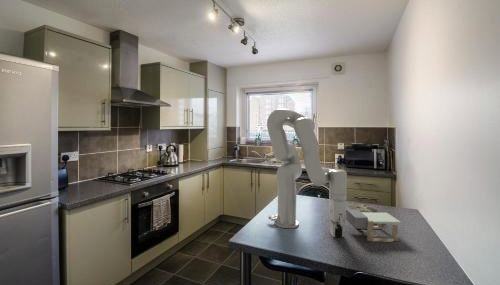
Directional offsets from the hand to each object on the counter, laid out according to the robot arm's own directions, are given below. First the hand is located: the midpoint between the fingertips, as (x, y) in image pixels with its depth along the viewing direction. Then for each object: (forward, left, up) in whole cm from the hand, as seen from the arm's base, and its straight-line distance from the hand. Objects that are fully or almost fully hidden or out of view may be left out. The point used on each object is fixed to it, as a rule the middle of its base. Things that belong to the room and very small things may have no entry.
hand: (336, 233), depth 119 cm
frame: (+18, +1, -1) cm, 18 cm away
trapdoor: (+17, +1, +4) cm, 17 cm away
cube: (0, 0, -1) cm, 1 cm away
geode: (+22, +22, -1) cm, 31 cm away
